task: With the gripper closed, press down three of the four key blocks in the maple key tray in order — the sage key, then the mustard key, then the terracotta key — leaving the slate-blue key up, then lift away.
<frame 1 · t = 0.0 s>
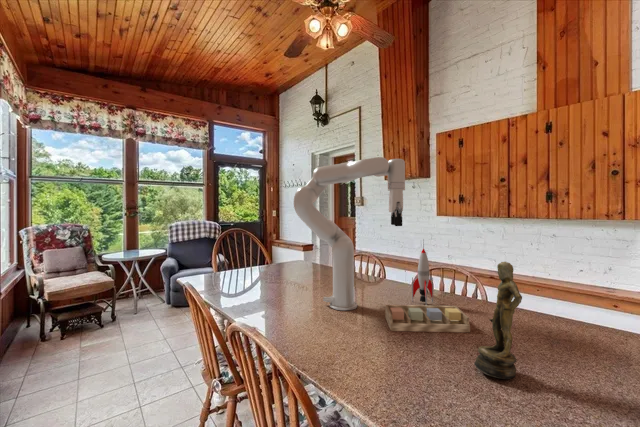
hand: (396, 225, 138), 37 cm above the table, tool pointing down, fingers open, 9 cm apart
key tray: (424, 324, 118), on the table
key terracotta: (396, 313, 119), point 4 cm above the table, slide at 0.0 cm
key mustard: (453, 314, 117), point 4 cm above the table, slide at 0.0 cm
toy: (424, 305, 142), on the table
statue: (497, 375, 82), on the table
key sage: (415, 313, 118), point 4 cm above the table, slide at 0.0 cm
key slate: (434, 314, 118), point 4 cm above the table, slide at 0.0 cm
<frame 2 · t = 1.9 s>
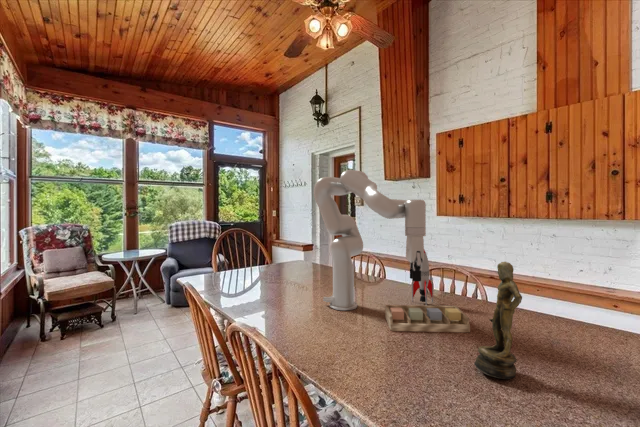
hand: (415, 279, 118), 17 cm above the table, tool pointing down, fingers open, 3 cm apart
nothing on the table moved.
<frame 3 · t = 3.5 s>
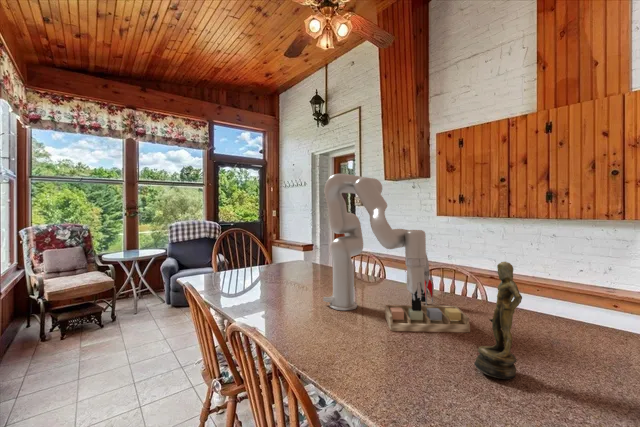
hand: (416, 310, 118), 6 cm above the table, tool pointing down, fingers closed
key sage: (415, 313, 118), point 4 cm above the table, slide at 0.0 cm, touching gripper
everything else where it was.
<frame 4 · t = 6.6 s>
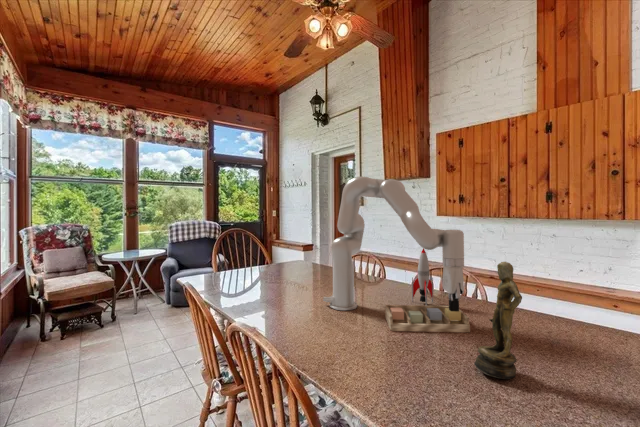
hand: (453, 310, 117), 6 cm above the table, tool pointing down, fingers closed
key mustard: (453, 314, 117), point 4 cm above the table, slide at 0.0 cm, touching gripper
key sage: (415, 316, 118), point 3 cm above the table, slide at 1.2 cm
everything else where it was.
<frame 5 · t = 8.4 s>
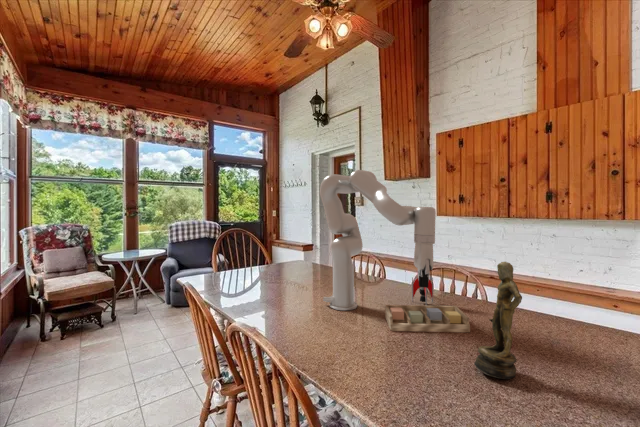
hand: (423, 286, 118), 14 cm above the table, tool pointing down, fingers closed
key mustard: (453, 317, 117), point 3 cm above the table, slide at 1.1 cm
everything else where it was.
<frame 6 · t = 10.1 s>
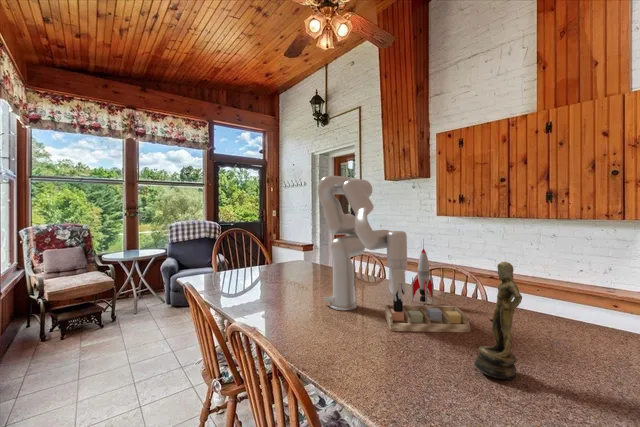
hand: (398, 310, 118), 5 cm above the table, tool pointing down, fingers closed
key terracotta: (396, 314, 119), point 4 cm above the table, slide at 0.5 cm, touching gripper
everything else where it was.
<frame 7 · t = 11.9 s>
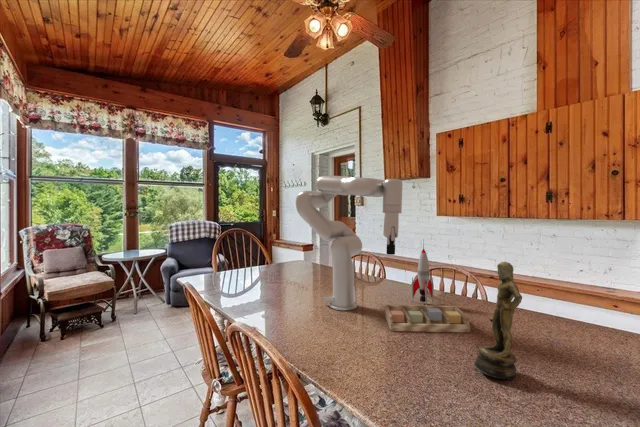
hand: (390, 254, 126), 26 cm above the table, tool pointing down, fingers closed
key terracotta: (396, 316, 119), point 3 cm above the table, slide at 1.2 cm
everything else where it was.
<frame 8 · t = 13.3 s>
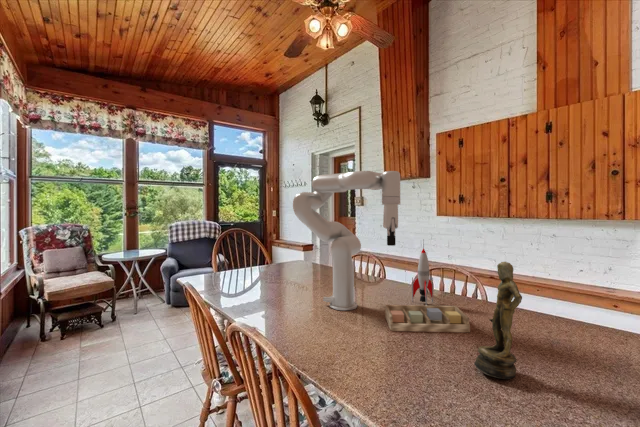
hand: (391, 245, 128), 29 cm above the table, tool pointing down, fingers closed
nothing on the table moved.
at the end: key sage slide at 1.2 cm; key mustard slide at 1.1 cm; key terracotta slide at 1.2 cm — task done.
